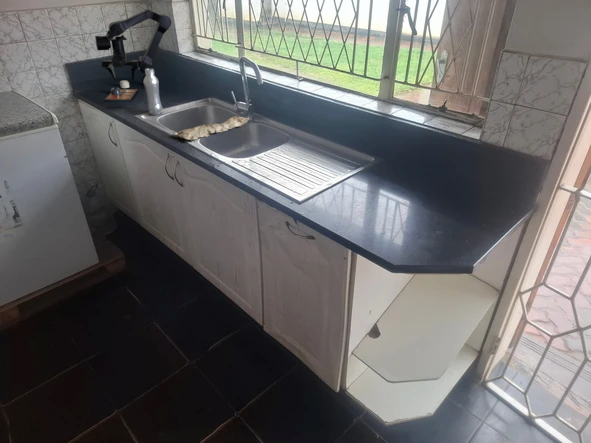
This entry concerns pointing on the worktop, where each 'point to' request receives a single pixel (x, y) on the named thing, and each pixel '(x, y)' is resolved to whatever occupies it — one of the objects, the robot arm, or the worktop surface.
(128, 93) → the wooden grid board
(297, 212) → the worktop surface
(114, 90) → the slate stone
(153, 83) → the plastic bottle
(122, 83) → the white lidded jar
